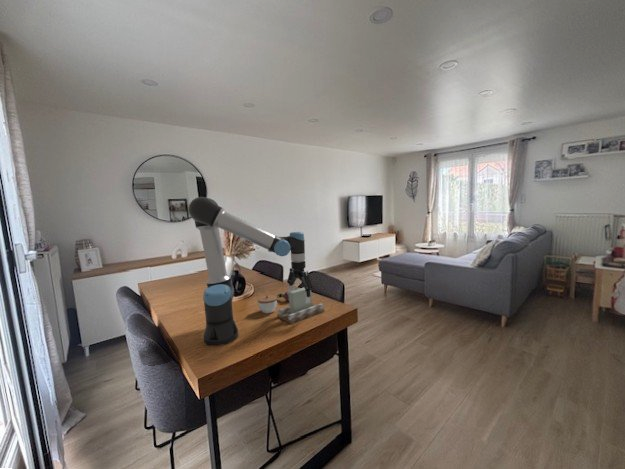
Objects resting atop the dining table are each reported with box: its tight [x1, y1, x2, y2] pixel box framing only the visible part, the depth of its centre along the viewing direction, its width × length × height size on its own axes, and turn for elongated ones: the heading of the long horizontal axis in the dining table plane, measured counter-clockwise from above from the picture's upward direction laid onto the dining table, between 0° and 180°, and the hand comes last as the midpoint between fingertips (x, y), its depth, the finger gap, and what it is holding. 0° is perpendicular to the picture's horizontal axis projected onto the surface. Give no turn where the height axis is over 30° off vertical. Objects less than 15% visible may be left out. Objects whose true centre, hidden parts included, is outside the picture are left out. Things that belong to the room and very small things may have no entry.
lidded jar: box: [257, 294, 278, 314], centre depth 147 cm, size 11×11×9 cm
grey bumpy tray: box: [277, 303, 325, 325], centre depth 141 cm, size 22×13×4 cm, turn 129°
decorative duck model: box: [276, 287, 300, 302], centre depth 165 cm, size 15×8×15 cm
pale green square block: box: [288, 287, 313, 314], centre depth 140 cm, size 4×12×12 cm, turn 129°
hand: (300, 299), depth 140 cm, fingers open, 13 cm apart
